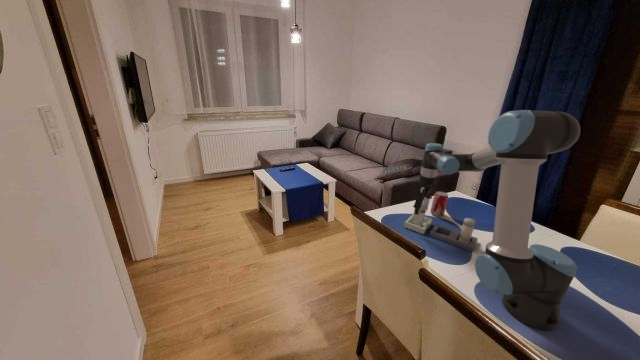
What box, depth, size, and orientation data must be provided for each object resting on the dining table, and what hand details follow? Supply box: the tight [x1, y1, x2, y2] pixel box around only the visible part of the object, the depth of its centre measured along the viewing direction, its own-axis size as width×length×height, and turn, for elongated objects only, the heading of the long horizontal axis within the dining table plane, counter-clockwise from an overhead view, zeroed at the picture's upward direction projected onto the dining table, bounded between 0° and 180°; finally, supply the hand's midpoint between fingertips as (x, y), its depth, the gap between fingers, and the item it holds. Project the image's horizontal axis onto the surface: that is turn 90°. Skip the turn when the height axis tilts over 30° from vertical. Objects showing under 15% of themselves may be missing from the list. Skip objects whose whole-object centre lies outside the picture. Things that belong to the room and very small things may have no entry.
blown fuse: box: [414, 202, 427, 227], centre depth 132 cm, size 5×5×12 cm
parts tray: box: [403, 212, 433, 235], centre depth 134 cm, size 13×10×3 cm
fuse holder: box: [429, 217, 478, 253], centre depth 122 cm, size 10×19×12 cm, turn 52°
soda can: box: [430, 190, 449, 218], centre depth 145 cm, size 7×7×13 cm
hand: (420, 214), depth 132 cm, fingers open, 13 cm apart
